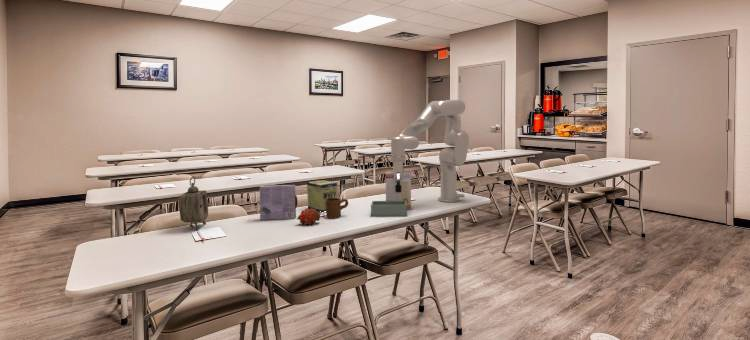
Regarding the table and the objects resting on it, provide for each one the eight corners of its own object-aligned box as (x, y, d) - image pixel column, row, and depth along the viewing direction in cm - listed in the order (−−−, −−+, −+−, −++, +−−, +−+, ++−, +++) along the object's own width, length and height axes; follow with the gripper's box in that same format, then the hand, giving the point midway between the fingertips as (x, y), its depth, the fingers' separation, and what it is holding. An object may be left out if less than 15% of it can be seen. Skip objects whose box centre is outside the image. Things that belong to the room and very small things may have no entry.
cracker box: (411, 207, 247) (410, 170, 244) (411, 209, 241) (410, 172, 238) (386, 207, 248) (386, 170, 245) (385, 209, 242) (385, 172, 239)
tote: (406, 211, 237) (406, 200, 236) (406, 216, 226) (406, 205, 225) (372, 211, 238) (372, 200, 237) (371, 216, 227) (370, 205, 226)
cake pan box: (298, 216, 231) (296, 183, 228) (298, 218, 226) (296, 185, 223) (261, 218, 227) (259, 185, 225) (260, 221, 223) (258, 187, 220)
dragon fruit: (323, 225, 217) (299, 232, 213) (318, 213, 222) (295, 219, 218) (323, 215, 211) (299, 221, 207) (317, 202, 216) (294, 208, 212)
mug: (346, 213, 234) (346, 196, 233) (350, 217, 227) (350, 199, 226) (324, 216, 230) (324, 198, 229) (328, 219, 223) (327, 201, 222)
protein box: (323, 213, 237) (322, 185, 235) (307, 208, 249) (306, 181, 246) (338, 210, 244) (337, 182, 242) (322, 205, 255) (321, 179, 253)
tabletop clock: (200, 231, 205) (196, 179, 202) (180, 232, 205) (176, 179, 201) (209, 223, 220) (205, 174, 216) (190, 224, 219) (186, 175, 215)
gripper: (391, 157, 249) (392, 188, 252) (390, 161, 232) (391, 194, 235) (404, 157, 249) (405, 188, 251) (404, 160, 232) (405, 193, 234)
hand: (398, 190), depth 243 cm, fingers closed on cracker box, 6 cm apart
